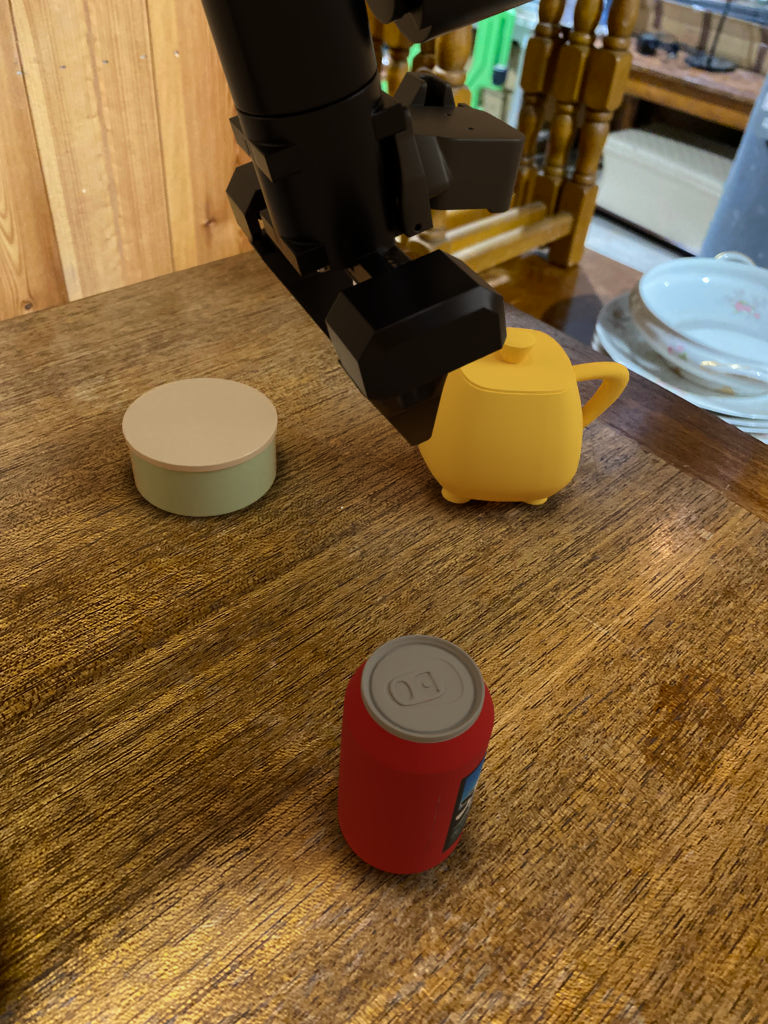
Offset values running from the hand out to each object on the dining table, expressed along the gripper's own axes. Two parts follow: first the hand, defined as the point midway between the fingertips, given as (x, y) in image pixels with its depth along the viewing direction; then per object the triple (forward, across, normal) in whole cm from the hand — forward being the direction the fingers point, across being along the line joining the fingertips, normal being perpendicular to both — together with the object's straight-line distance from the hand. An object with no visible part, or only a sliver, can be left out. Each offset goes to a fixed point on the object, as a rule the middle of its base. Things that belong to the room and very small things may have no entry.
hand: (382, 392), depth 42 cm
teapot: (+20, +10, -9) cm, 24 cm away
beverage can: (+15, -15, +9) cm, 23 cm away
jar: (+14, +17, +11) cm, 25 cm away
